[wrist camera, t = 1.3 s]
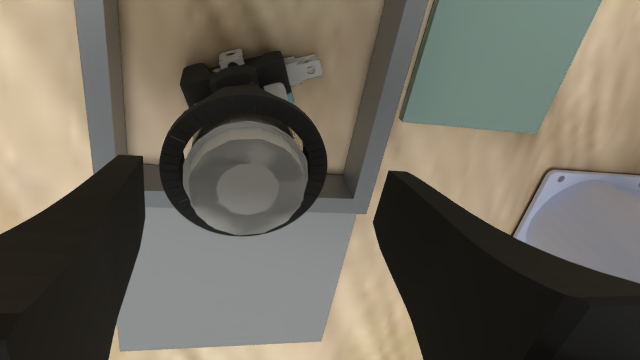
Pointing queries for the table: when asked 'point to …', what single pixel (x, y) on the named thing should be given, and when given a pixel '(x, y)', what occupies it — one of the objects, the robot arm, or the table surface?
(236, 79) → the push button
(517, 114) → the mat
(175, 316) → the equipment case
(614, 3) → the table surface
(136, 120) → the table surface
